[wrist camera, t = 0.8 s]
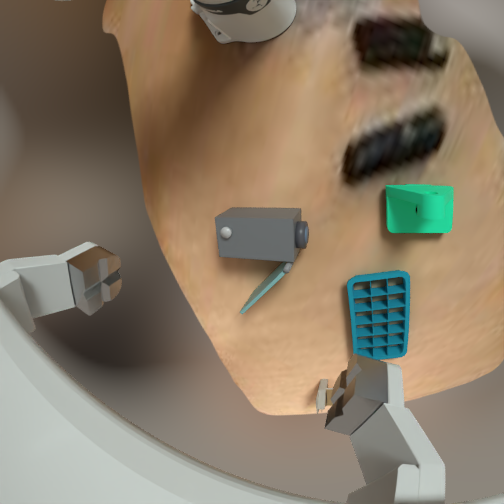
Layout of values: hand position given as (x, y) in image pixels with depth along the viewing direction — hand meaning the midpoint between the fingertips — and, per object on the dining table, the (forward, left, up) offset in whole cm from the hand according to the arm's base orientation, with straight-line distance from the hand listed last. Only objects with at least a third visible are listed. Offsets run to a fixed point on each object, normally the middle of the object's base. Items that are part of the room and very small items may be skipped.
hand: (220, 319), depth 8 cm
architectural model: (+42, -26, -41) cm, 64 cm away
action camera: (+2, -14, -40) cm, 42 cm away
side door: (+10, -18, -40) cm, 45 cm away
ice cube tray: (+28, -5, -41) cm, 50 cm away
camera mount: (+13, +11, -40) cm, 44 cm away
